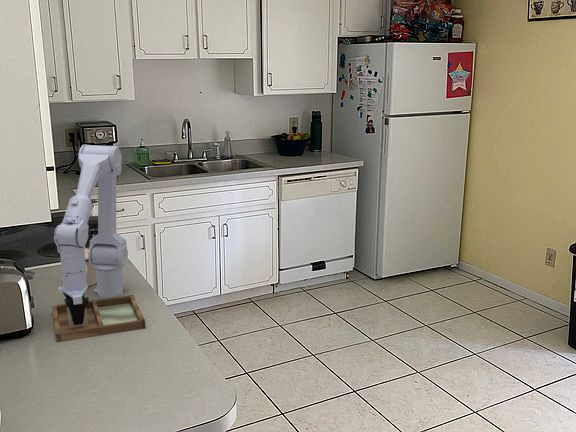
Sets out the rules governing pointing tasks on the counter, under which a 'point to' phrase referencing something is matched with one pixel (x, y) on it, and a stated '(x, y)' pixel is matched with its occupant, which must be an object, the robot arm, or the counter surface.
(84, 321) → the stone block
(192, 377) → the counter surface
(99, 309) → the sorting tray
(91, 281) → the teacup with lid
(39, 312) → the counter surface
